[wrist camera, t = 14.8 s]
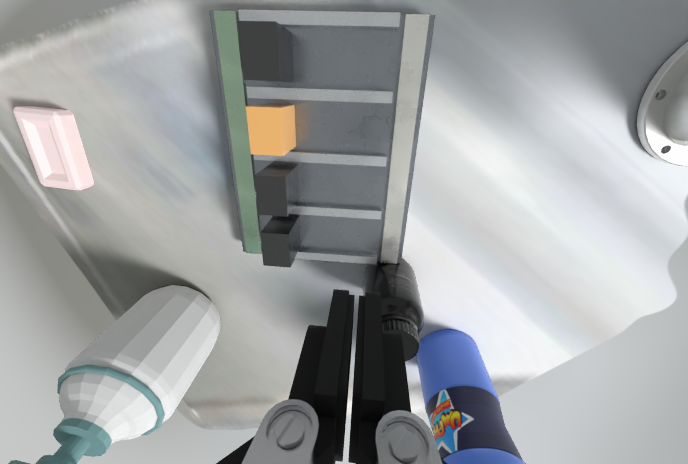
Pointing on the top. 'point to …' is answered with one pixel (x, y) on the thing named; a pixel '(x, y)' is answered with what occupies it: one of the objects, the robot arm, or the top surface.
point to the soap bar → (54, 147)
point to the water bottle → (462, 402)
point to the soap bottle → (133, 373)
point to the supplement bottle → (397, 301)
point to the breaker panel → (325, 128)
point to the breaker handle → (271, 129)
